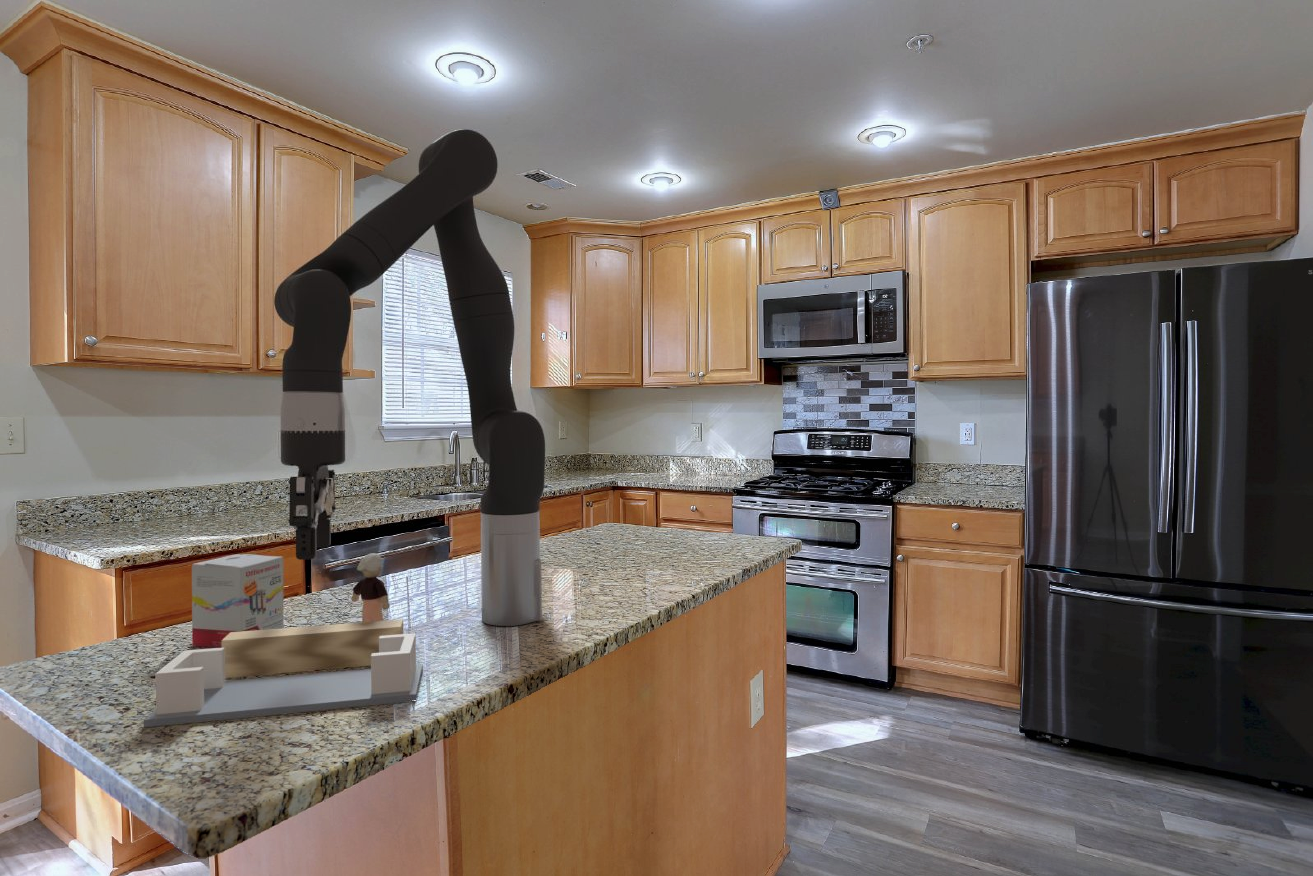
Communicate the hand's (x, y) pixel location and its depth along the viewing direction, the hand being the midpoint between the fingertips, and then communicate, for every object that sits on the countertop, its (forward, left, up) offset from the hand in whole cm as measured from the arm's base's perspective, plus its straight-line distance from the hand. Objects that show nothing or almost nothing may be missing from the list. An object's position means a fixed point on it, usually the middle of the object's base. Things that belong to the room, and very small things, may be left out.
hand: (314, 552), depth 91 cm
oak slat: (0, 0, -15) cm, 15 cm away
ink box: (+13, -15, -15) cm, 25 cm away
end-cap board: (0, +10, -15) cm, 18 cm away
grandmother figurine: (-6, -9, -15) cm, 18 cm away
